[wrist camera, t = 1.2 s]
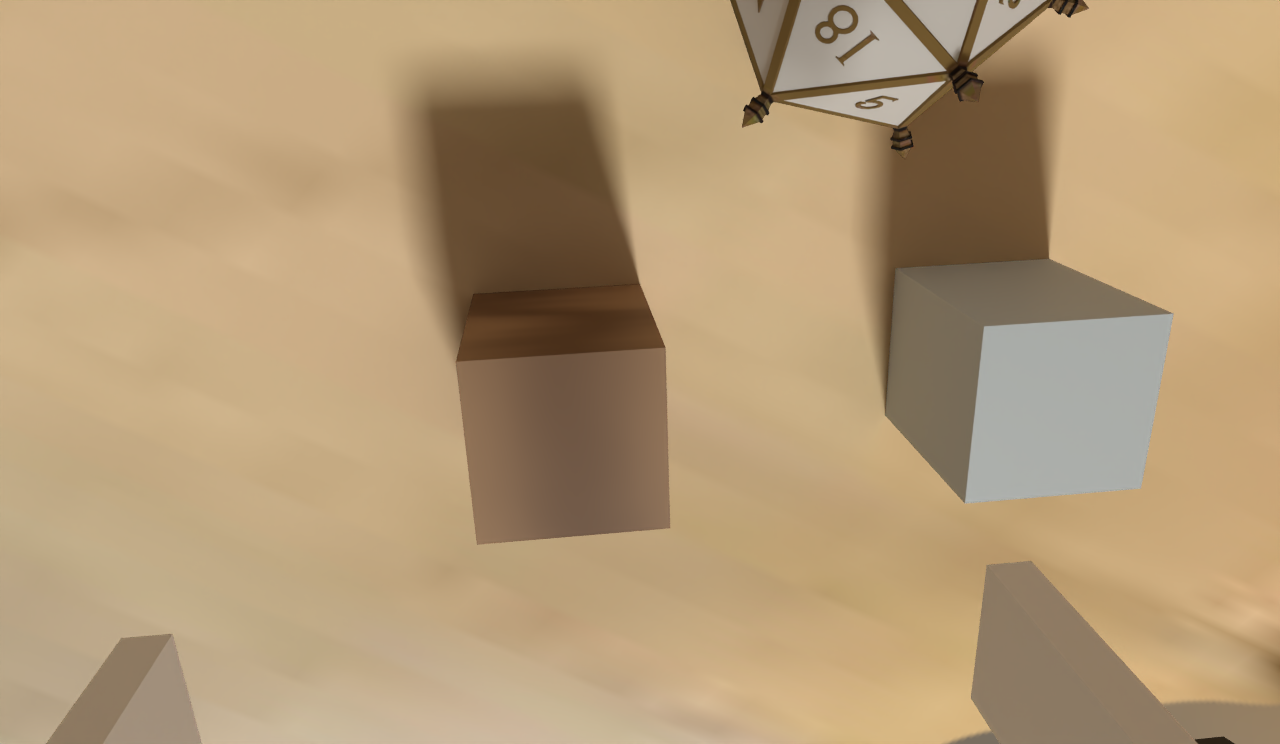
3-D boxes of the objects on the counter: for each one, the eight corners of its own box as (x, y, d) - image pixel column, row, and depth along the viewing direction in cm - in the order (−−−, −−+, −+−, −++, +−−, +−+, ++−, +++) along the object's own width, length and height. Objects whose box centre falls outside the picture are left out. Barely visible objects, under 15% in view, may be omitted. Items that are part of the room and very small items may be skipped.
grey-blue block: (884, 415, 30) (964, 503, 24) (894, 267, 28) (983, 326, 22) (1029, 404, 30) (1140, 488, 24) (1048, 258, 28) (1173, 313, 23)
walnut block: (489, 444, 28) (477, 544, 23) (473, 293, 27) (455, 361, 21) (645, 433, 29) (669, 528, 23) (639, 283, 27) (665, 347, 22)
